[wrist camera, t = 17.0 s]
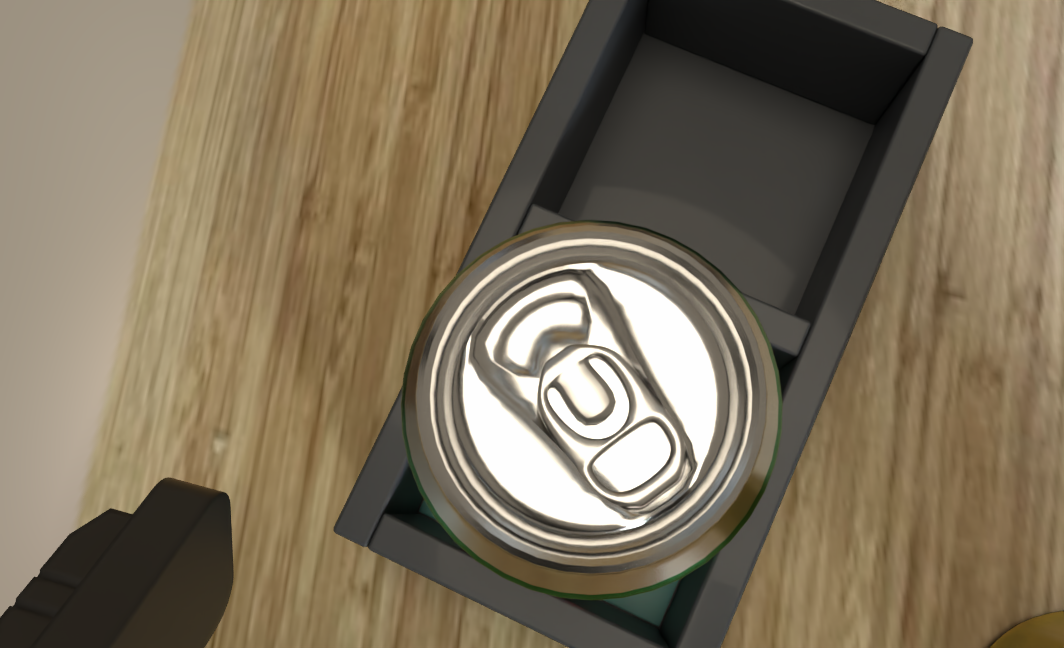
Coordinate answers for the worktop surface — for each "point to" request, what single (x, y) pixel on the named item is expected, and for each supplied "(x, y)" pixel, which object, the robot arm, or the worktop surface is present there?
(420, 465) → the soda can
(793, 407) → the holder
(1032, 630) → the vase
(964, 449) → the worktop surface
